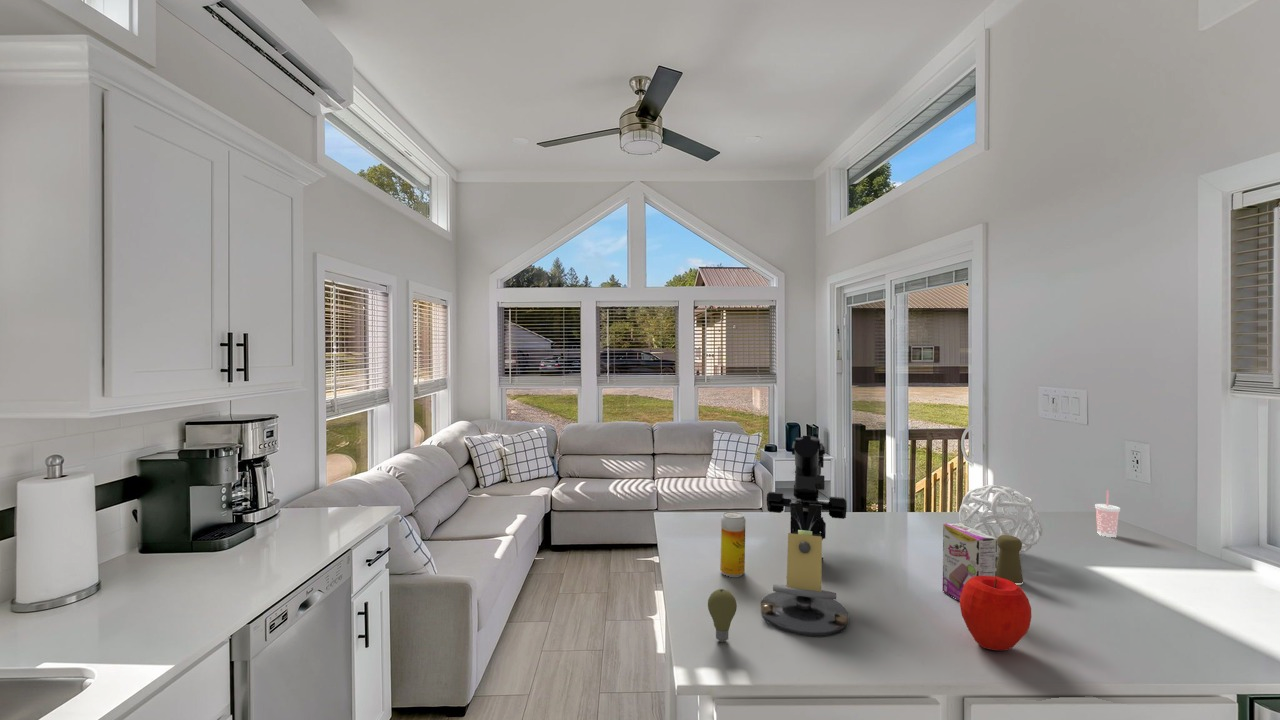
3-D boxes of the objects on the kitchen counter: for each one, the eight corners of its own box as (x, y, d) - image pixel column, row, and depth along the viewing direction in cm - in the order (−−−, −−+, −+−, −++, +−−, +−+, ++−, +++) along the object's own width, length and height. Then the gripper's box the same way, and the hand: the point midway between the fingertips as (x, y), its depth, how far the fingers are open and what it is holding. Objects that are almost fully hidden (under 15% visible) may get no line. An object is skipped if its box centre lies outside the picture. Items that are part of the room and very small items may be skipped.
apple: (1003, 670, 99) (1004, 596, 99) (944, 639, 110) (945, 571, 110) (1044, 656, 104) (1046, 585, 104) (984, 627, 115) (985, 563, 115)
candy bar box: (940, 592, 132) (941, 522, 131) (959, 590, 132) (960, 522, 132) (976, 614, 121) (978, 538, 120) (997, 612, 121) (998, 537, 121)
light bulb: (704, 634, 111) (705, 584, 111) (732, 633, 112) (732, 583, 112) (710, 649, 106) (711, 597, 105) (739, 648, 106) (740, 596, 106)
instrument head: (774, 589, 127) (776, 529, 132) (835, 597, 123) (835, 535, 128) (770, 591, 116) (773, 526, 120) (837, 601, 112) (837, 532, 116)
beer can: (744, 579, 138) (745, 519, 138) (719, 576, 139) (720, 517, 139) (744, 569, 144) (745, 512, 144) (720, 567, 145) (721, 510, 145)
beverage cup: (1089, 531, 177) (1090, 487, 177) (1110, 532, 176) (1111, 488, 176) (1102, 537, 171) (1103, 492, 171) (1124, 538, 170) (1125, 493, 170)
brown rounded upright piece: (1020, 578, 140) (1021, 534, 140) (1025, 587, 135) (1026, 542, 134) (992, 573, 143) (993, 531, 142) (996, 582, 137) (997, 538, 137)
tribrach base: (765, 590, 132) (765, 576, 131) (846, 601, 126) (846, 586, 126) (756, 628, 114) (756, 611, 114) (850, 643, 108) (851, 625, 108)
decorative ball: (1053, 573, 143) (1055, 499, 143) (965, 563, 149) (967, 492, 149) (1027, 547, 162) (1028, 482, 162) (950, 539, 168) (951, 476, 168)
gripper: (767, 459, 140) (762, 515, 130) (846, 464, 134) (848, 524, 124) (769, 483, 148) (765, 538, 137) (844, 489, 142) (846, 547, 132)
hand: (804, 536), depth 132 cm, fingers closed
